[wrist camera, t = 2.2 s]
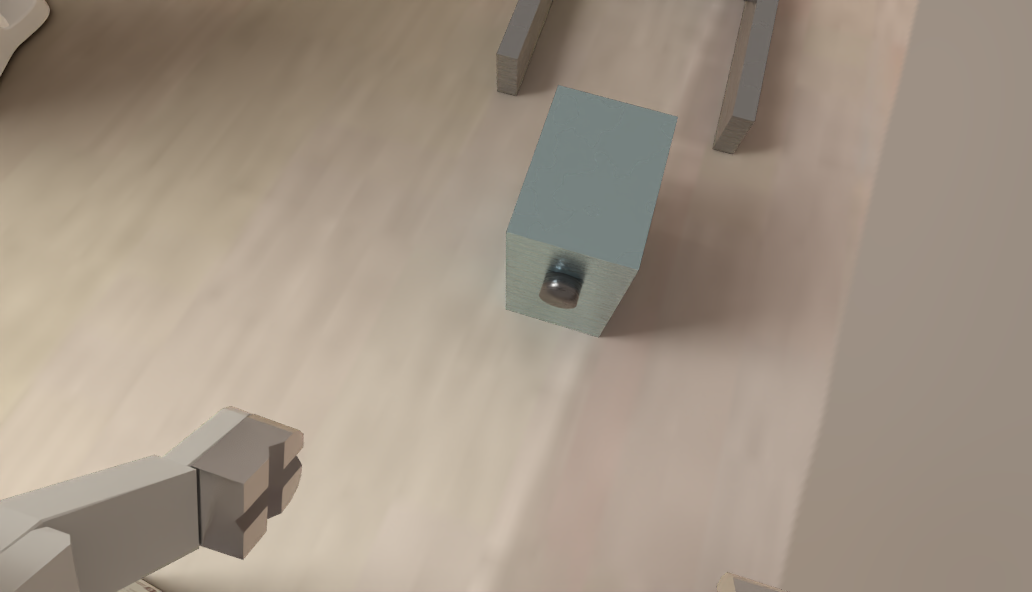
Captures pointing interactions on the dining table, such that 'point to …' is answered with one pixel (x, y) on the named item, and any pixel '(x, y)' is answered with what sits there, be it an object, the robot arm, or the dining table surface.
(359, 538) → the dining table surface
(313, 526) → the dining table surface
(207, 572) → the dining table surface
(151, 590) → the supplement box
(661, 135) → the block
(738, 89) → the coupler bay
